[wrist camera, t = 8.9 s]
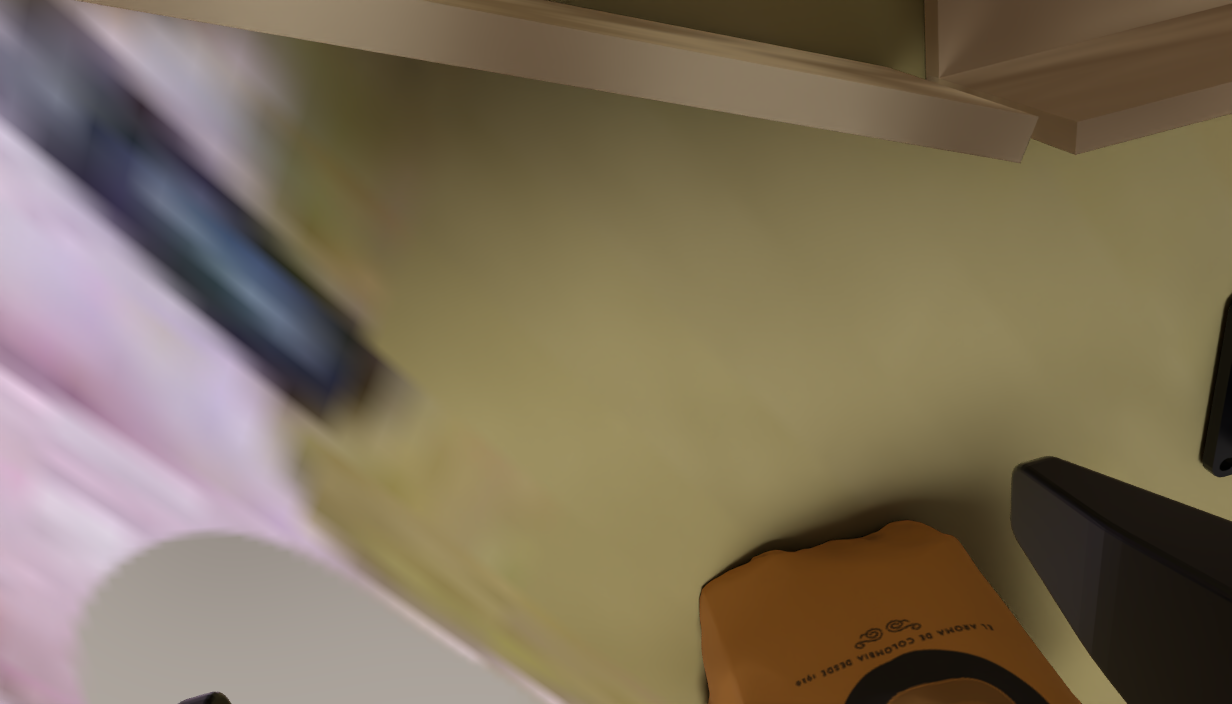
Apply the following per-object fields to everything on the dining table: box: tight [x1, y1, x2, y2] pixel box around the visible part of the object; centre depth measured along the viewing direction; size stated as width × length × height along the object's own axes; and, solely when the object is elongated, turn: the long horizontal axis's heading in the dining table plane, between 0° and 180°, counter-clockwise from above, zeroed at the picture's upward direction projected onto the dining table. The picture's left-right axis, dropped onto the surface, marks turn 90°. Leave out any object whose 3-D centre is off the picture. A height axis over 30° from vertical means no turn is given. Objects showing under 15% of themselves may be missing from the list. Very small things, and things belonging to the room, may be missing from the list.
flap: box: [76, 0, 1039, 163], centre depth 15 cm, size 17×1×6 cm, turn 79°
